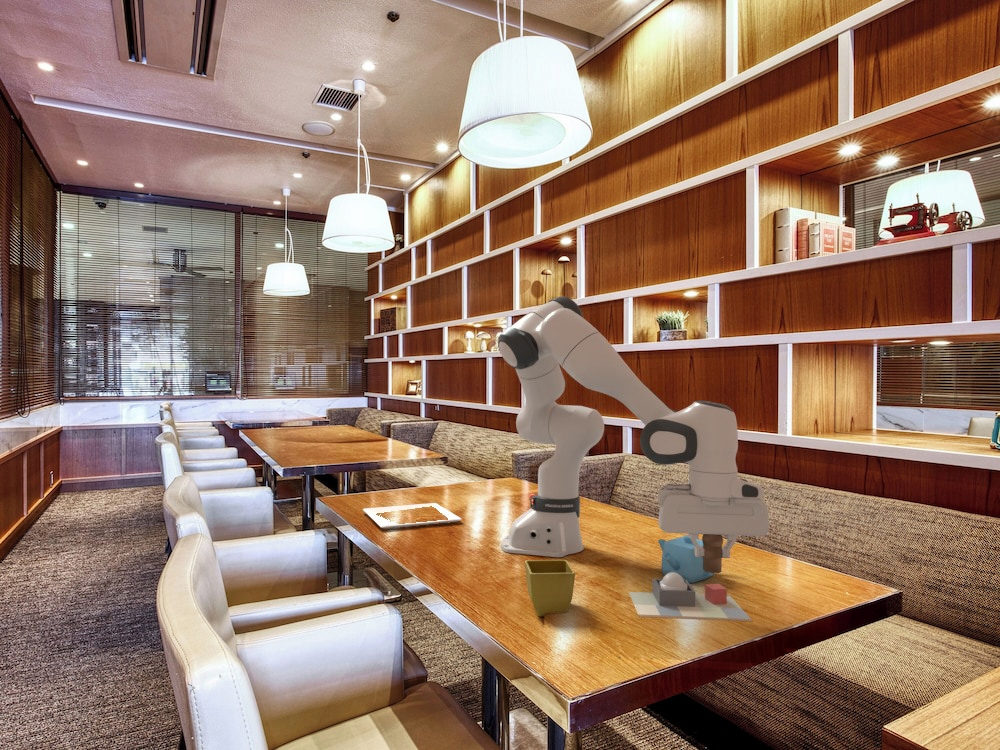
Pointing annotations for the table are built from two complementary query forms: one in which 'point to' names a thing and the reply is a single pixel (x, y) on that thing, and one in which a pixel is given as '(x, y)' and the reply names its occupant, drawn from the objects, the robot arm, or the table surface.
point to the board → (684, 605)
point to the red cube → (715, 594)
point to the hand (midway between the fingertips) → (712, 556)
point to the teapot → (683, 559)
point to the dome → (673, 582)
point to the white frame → (388, 525)
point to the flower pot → (550, 585)
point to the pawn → (712, 553)
